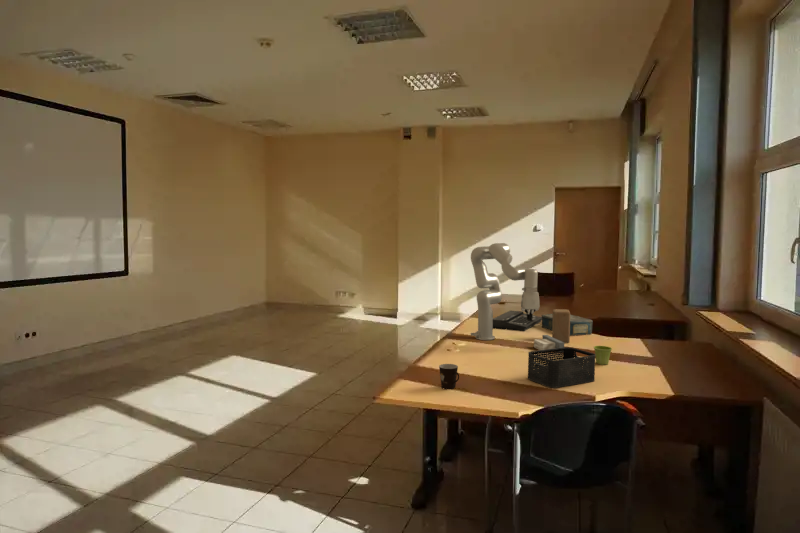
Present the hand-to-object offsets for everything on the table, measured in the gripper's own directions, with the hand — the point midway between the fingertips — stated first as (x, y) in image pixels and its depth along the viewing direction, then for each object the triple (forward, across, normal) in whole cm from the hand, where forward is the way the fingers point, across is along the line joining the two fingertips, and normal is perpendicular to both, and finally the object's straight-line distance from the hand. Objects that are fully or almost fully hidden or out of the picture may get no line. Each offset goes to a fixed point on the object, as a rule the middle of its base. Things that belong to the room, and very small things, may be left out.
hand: (529, 320), depth 322 cm
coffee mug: (+17, -68, -63) cm, 94 cm away
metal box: (+19, +49, +46) cm, 70 cm away
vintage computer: (+20, +24, +74) cm, 80 cm away
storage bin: (+17, -11, -61) cm, 64 cm away
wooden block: (+18, +29, +16) cm, 38 cm away
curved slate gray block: (+18, +15, -1) cm, 23 cm away
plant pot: (+17, +25, -38) cm, 49 cm away
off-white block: (+18, +10, -1) cm, 20 cm away
